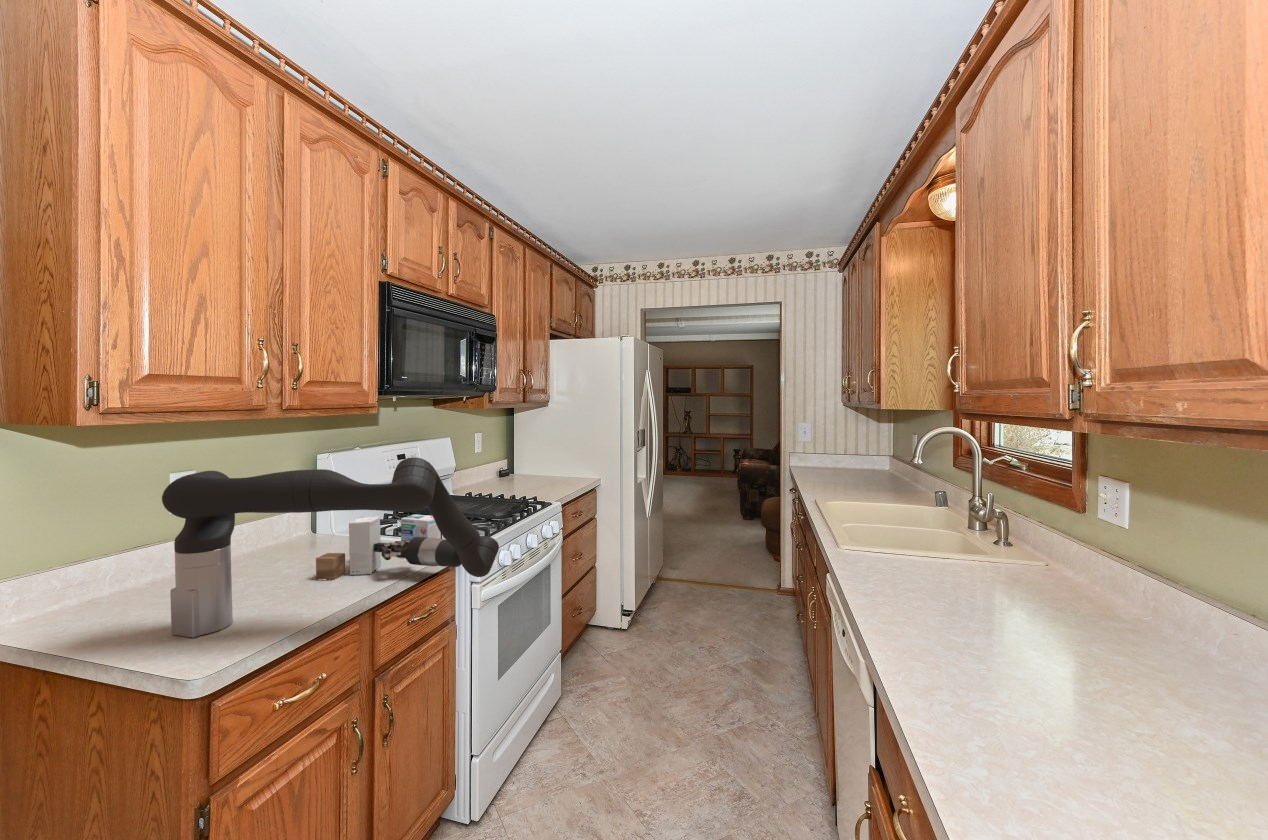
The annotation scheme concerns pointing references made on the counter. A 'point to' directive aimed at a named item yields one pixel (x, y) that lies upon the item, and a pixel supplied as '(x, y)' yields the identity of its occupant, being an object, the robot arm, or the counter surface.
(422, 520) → the light bulb box
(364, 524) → the skincare box
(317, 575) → the walnut block
